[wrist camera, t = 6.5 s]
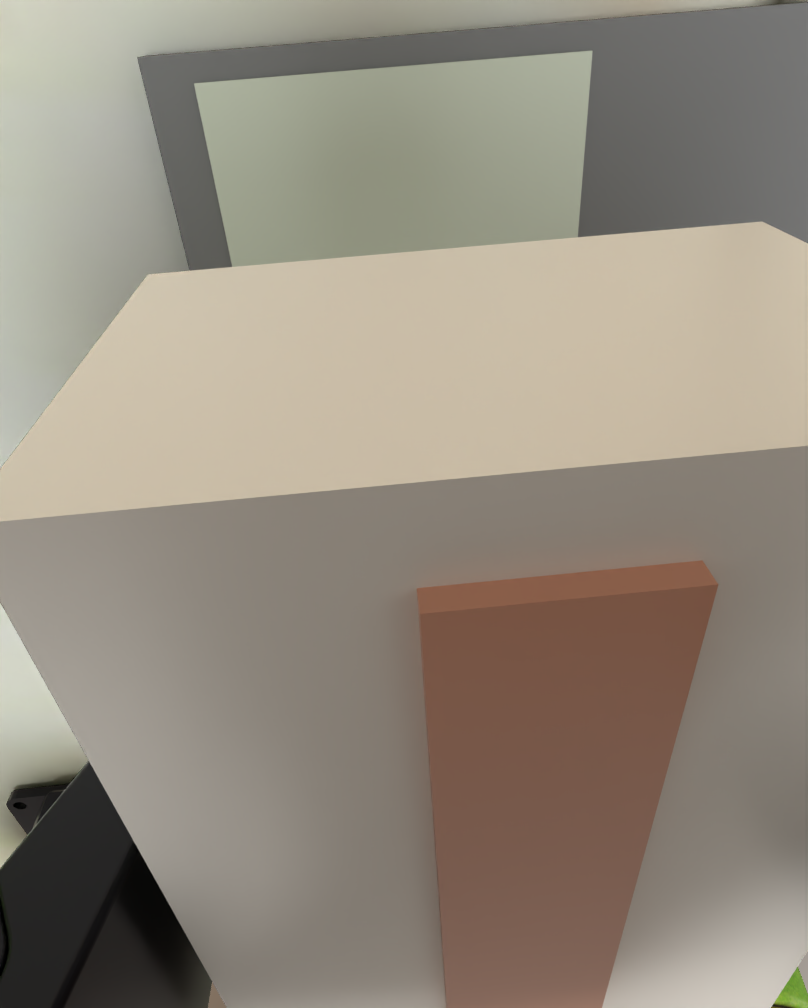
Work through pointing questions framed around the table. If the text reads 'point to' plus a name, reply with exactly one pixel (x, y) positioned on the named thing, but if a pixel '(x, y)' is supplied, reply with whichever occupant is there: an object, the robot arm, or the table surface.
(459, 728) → the box
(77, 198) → the table surface
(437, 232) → the mat
